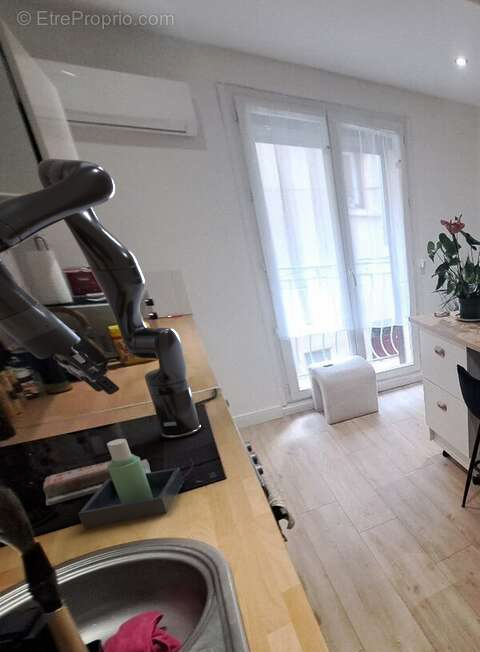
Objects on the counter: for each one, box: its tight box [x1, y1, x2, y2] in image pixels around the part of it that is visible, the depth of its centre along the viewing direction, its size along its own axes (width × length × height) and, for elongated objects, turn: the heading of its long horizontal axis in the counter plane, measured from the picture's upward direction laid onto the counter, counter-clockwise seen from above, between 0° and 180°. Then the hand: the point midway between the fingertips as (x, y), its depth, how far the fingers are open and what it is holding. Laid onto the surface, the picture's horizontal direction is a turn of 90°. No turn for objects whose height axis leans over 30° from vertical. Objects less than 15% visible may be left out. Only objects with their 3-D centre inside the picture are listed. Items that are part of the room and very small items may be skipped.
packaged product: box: [42, 458, 152, 506], centre depth 101 cm, size 18×5×10 cm
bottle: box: [106, 438, 153, 504], centre depth 91 cm, size 5×5×16 cm
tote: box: [77, 467, 184, 530], centre depth 94 cm, size 14×14×5 cm
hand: (108, 390), depth 93 cm, fingers open, 8 cm apart
